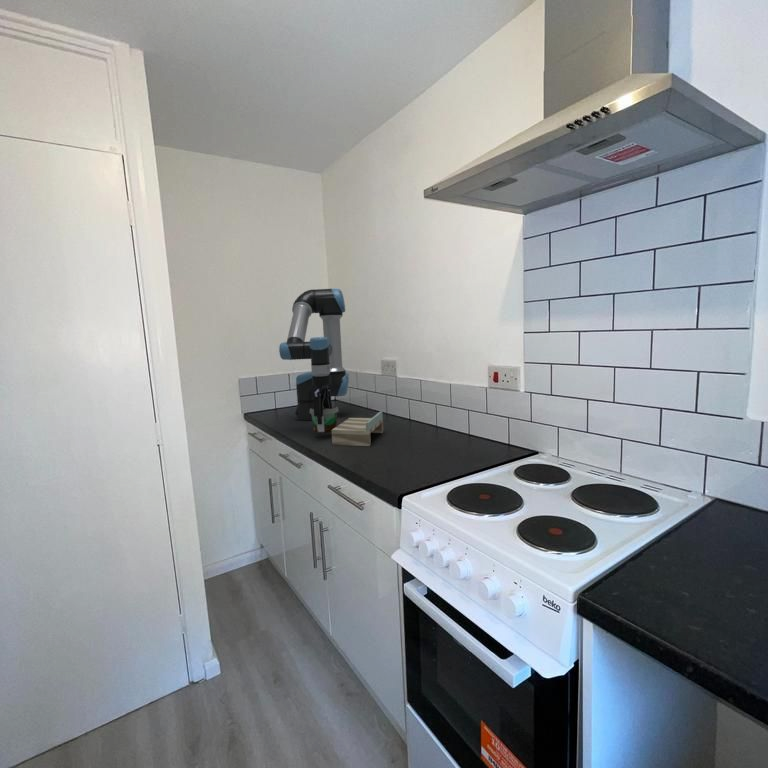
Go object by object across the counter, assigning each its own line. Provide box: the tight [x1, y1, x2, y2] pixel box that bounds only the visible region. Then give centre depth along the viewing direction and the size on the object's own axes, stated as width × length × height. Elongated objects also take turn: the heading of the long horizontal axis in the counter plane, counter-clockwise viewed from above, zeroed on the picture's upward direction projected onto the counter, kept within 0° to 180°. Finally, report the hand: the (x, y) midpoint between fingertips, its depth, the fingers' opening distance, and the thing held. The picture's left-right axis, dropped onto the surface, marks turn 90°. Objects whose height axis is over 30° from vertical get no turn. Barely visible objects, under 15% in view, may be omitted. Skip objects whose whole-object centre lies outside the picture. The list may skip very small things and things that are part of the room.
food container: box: [310, 406, 339, 434], centre depth 174 cm, size 12×6×10 cm, turn 92°
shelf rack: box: [331, 410, 384, 447], centre depth 171 cm, size 22×15×9 cm
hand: (324, 429), depth 175 cm, fingers closed on food container, 7 cm apart
